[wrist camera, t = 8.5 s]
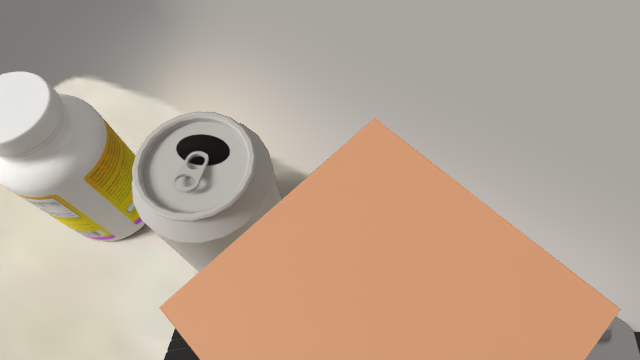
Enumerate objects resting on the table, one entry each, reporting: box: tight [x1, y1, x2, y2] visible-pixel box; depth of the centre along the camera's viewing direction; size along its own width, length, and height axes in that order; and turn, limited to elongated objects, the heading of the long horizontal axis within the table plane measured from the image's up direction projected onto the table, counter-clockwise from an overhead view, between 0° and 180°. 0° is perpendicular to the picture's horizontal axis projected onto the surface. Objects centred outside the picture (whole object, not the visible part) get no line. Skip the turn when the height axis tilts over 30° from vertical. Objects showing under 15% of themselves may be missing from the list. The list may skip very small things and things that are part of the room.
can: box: [132, 112, 282, 272], centre depth 27 cm, size 8×8×12 cm
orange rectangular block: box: [159, 118, 620, 360], centre depth 12 cm, size 5×5×12 cm
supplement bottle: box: [0, 72, 145, 242], centre depth 28 cm, size 7×7×13 cm
